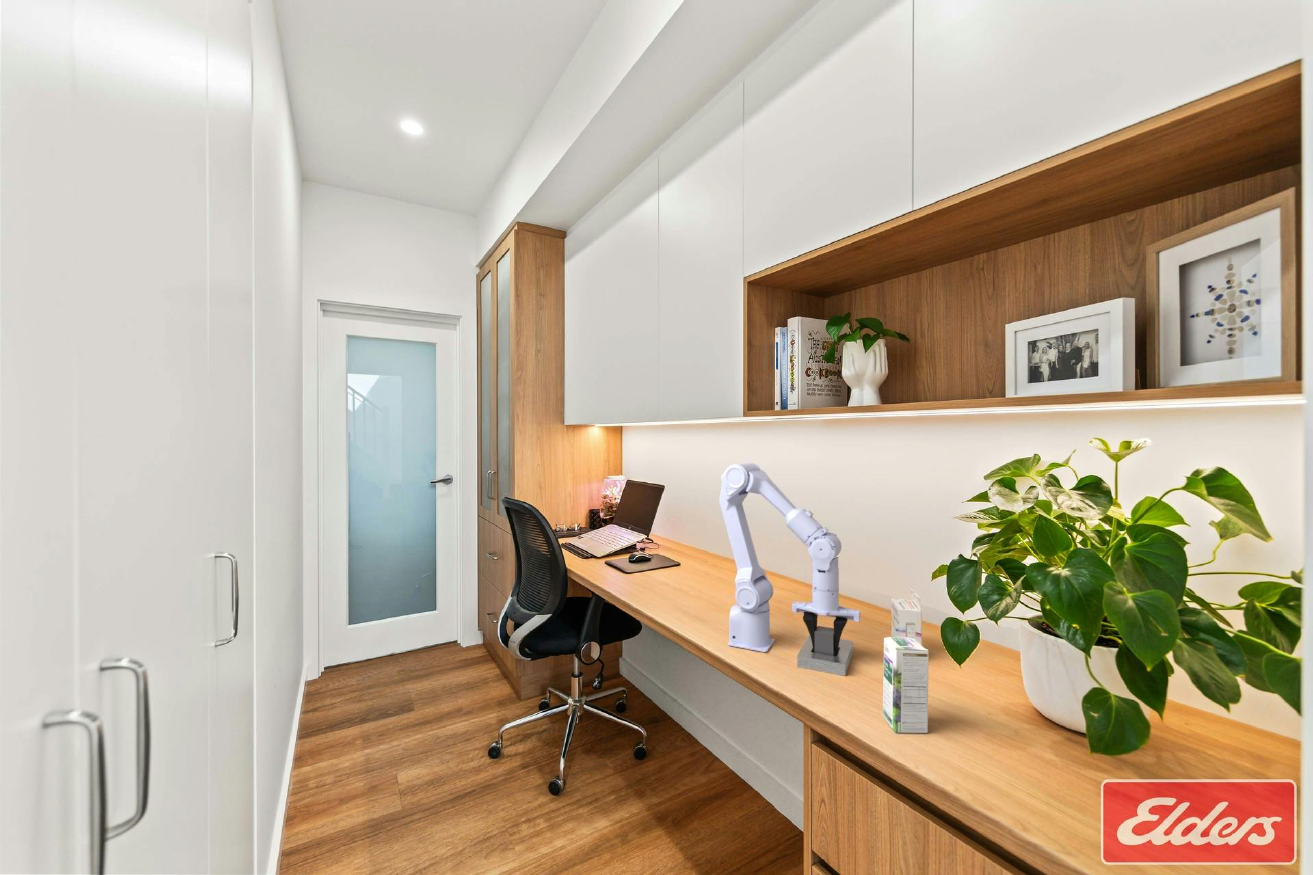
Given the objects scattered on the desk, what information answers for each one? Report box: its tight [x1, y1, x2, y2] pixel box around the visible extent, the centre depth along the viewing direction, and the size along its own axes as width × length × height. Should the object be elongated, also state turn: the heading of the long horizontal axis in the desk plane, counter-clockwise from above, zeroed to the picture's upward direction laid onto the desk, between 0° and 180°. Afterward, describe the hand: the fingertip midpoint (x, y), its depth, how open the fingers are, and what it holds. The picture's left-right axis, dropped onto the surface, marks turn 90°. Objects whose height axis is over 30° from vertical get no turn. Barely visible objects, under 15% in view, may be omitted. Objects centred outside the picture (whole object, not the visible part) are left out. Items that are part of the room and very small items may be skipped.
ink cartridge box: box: [890, 587, 923, 646], centre depth 123 cm, size 9×5×15 cm, turn 168°
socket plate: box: [796, 634, 854, 677], centre depth 121 cm, size 10×14×3 cm
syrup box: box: [882, 636, 930, 734], centre depth 93 cm, size 6×6×14 cm
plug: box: [815, 625, 836, 656], centre depth 120 cm, size 4×4×6 cm
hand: (825, 647), depth 120 cm, fingers closed on plug, 4 cm apart
